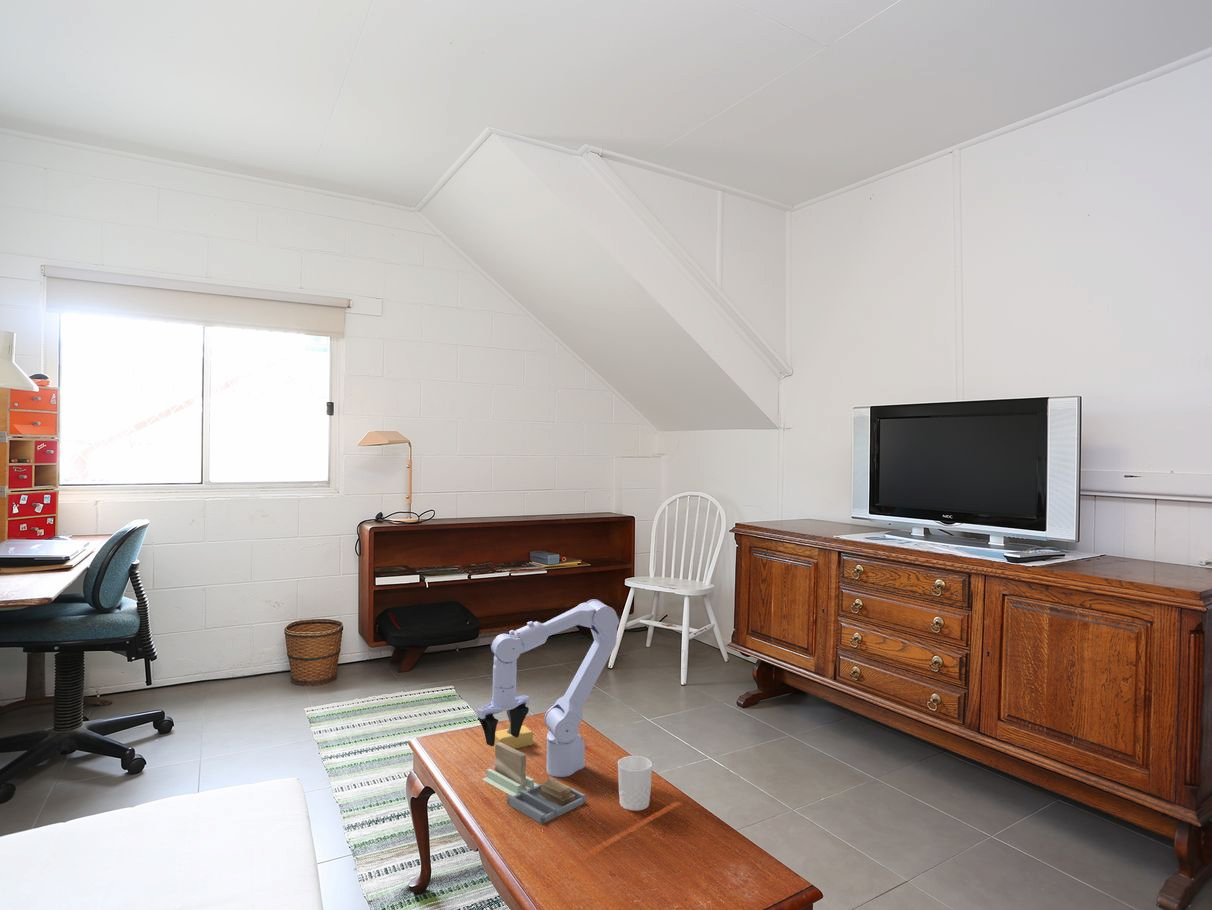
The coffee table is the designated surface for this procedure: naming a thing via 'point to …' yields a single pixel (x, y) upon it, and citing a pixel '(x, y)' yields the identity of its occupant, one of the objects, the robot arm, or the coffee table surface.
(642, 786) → the white cup
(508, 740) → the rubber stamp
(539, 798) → the tray
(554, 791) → the offcut upper
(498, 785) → the stand
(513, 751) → the birch sheet
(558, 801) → the offcut lower
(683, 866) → the coffee table surface
